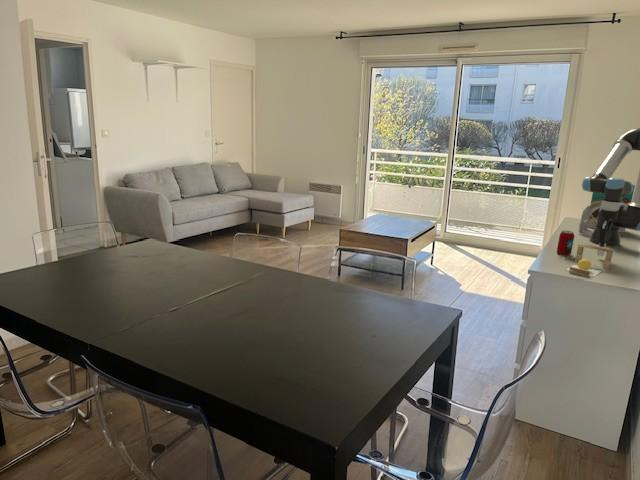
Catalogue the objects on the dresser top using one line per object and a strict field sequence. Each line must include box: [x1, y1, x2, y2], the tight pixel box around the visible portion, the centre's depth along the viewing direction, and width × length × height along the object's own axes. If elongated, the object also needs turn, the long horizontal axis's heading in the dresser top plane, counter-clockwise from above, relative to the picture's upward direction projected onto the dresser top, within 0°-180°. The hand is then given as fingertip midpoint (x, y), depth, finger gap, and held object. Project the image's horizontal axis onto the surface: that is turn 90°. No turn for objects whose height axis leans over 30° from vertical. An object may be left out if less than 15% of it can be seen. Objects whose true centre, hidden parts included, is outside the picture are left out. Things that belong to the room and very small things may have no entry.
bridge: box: [574, 242, 614, 270], centre depth 233 cm, size 3×14×9 cm, turn 48°
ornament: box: [577, 205, 595, 237], centre depth 298 cm, size 22×13×17 cm, turn 137°
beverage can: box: [556, 230, 575, 257], centre depth 249 cm, size 7×7×12 cm
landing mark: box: [565, 264, 602, 278], centre depth 224 cm, size 12×12×1 cm
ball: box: [577, 258, 592, 270], centre depth 224 cm, size 6×6×6 cm
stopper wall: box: [568, 266, 590, 278], centre depth 218 cm, size 2×8×2 cm, turn 48°
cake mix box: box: [587, 184, 636, 234], centre depth 311 cm, size 22×6×30 cm, turn 58°
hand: (600, 255), depth 245 cm, fingers closed
